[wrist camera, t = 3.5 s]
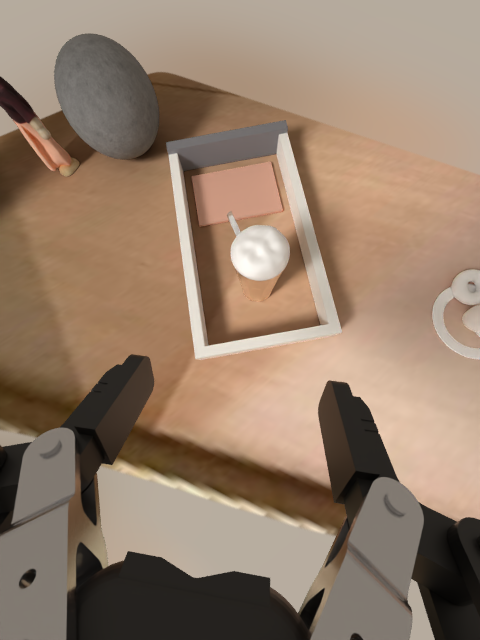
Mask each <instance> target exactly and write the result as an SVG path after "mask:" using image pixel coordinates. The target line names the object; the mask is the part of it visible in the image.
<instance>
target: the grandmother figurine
mask: <svg viewBox="0 0 480 640" xmlns="http://www.w3.org/2000/svg"><path fill="white" fill-rule="evenodd" d="M0 106H1V107H2V108H3V109H4V110H5V111H6V112H7V113H8V115H9V116H10V117H11V118H12V119H13V121H14V122H15V124H16V125H17V126H18V128H19V129H20V131H21V132H22V134H23V135H24V137H25V138H26V140H27V141H28V142H29V144H30V145H31V146H32V148H33V149H34V150H35V152H36V153H37V154H38V156H39V157H40V158H41V159H42V161H43V162H44V163H45V164H46V165H47V167H48V168H49V169H50V170H52V171H56V169H57V167H58V170H59V172H60V173H61V174H62V175H63V176H70V175H72V174H73V173H74V172H75V170H76V169H77V168H78V167H79V161H78V160H76V159H75V158H72V157H70V156H69V154H68V152H67V151H66V150H64V149H63V148H62V147H61V146H60V145H59V144H58V143H57V142H56V141H55V140H54V139H53V138H52V136H51V133H50V132H49V131H48V130H47V128H46V127H45V125H44V124H43V123H42V121H41V120H40V119H39V117H38V116H37V115H36V114H35V112H34V111H33V109H32V108H31V106H30V105H29V104H28V102H27V101H26V100H25V99H24V98H23V97H22V96H21V95H20V94H19V93H18V92H17V91H16V90H15V89H14V88H13V87H12V86H11V85H10V84H9V83H8V82H7V81H5V80H4V79H3V78H2V77H0Z"/></svg>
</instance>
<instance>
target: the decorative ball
mask: <svg viewBox="0 0 480 640" xmlns="http://www.w3.org/2000/svg"><path fill="white" fill-rule="evenodd" d="M54 73H55V74H54V79H55V89H56V93H57V97H58V100H59V103H60V106H61V109H62V111H63V113H64V115H65V117H66V118H67V120H68V122H69V123H70V125H71V126H72V128H73V129H74V130H75V132H76V133H77V134H78V135H79V136H80V137H81V138H82V139H83V140H84V141H85V142H86V143H87V144H88V145H89V146H91V147H92V148H93V149H95V150H96V151H98V152H100V153H102V154H104V155H106V156H109V157H112V158H116V159H133V158H136V157H139V156H141V155H142V154H144V153H145V152H146V151H147V150H148V149H149V148H150V147H151V146H152V144H153V143H154V140H155V138H156V136H157V132H158V127H159V107H158V101H157V97H156V94H155V91H154V88H153V86H152V84H151V81H150V79H149V77H148V75H147V74H146V72H145V71H144V69H143V68H142V66H141V65H140V63H139V62H138V61H137V60H136V58H135V57H134V56H133V55H132V54H131V53H130V52H129V51H127V50H126V49H125V48H124V47H123V46H121V45H120V44H118V43H117V42H115V41H114V40H112V39H110V38H107V37H105V36H102V35H97V34H82V35H78V36H75V37H73V38H72V39H70V40H69V41H68V42H66V44H65V45H64V46H63V47H62V48H61V50H60V52H59V54H58V56H57V59H56V65H55V71H54Z"/></svg>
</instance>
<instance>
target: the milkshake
mask: <svg viewBox="0 0 480 640" xmlns="http://www.w3.org/2000/svg"><path fill="white" fill-rule="evenodd" d="M227 217H228V219H229V221H230V223H231V225H232V228H233V230H234V232H235V234H236V236H237V237H236V238H235V240H234V241H233V243H232V246H231V260H232V263H233V265H234V268H235V270H236V273H237V275H238V278H239V280H240V284H241V287H242V290H243V293H244V295H245V296H246V297H247V298H248V299H249V300H250V301H256V302H261V301H263V300H265V299H267V298H268V297H269V296H270V294H271V292H272V289H273V287H274V286H275V284H276V282H277V280H278V279H279V277H280V276H281V274H282V272H283V271H284V269H285V267H286V265H287V263H288V261H289V256H290V246H289V243H288V241H287V239H286V237H285V236H284V235H283V234H282V233H281V232H280V231H278V230H277V229H276V228H275V227H272V226H264V225H254V226H251V227H248V228H246V229H245V230H243V231H242V232H240V230H239V227H238V225H237V223H236V220H235V218H234V216H233V213H232V211H230V212H229V213H228V214H227Z"/></svg>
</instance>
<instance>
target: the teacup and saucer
mask: <svg viewBox="0 0 480 640" xmlns="http://www.w3.org/2000/svg"><path fill="white" fill-rule="evenodd" d="M470 281H471V282H474V284H475V285H473V284H468V283H469V282H470ZM454 297H455V298H456V299H457V300H458V301H460V302H461V303H463V304H466V305H477V304H479V305H477V306H474V307H472V308H470V309H469V310H468V311H466V312H465V313H464V315H463V317H462V321H463V324H464V326H465V327H466V328H468V329H469V330H471V331H474V332H475V333H476V334H477V335H478V336H479V337H480V270H475V269H470V270H465V271H463V272H461V273H459V274H458V275H457V276H456V277H455V278H454V280H453V282H452V285H451V287H449V288H447V289H445V290H444V291H443V292H442V293H441V294H440V295H439V296H438V297H437V299H436V300H435V302H434V305H433V309H432V320H433V325H434V328H435V330H436V332H437V334H438V336H439V337H440V339H441V340H442V341H443V342H444V343H445V344H446V345H447V346H448V347H449V348H450V349H451V350H453V351H454V352H456V353H458V354H460V355H462V356H464V357H467V358H471V359H479V360H480V348H471V347H467V346H465V345H462V344H461V343H459V342H457V341H456V340H455V339H454V338H453V337H452V336H451V335H450V334H449V332H448V331H447V329H446V327H445V324H444V320H443V313H444V309H445V307H446V305H447V303H448V302H449V301H450V300H451V299H453V298H454Z"/></svg>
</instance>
